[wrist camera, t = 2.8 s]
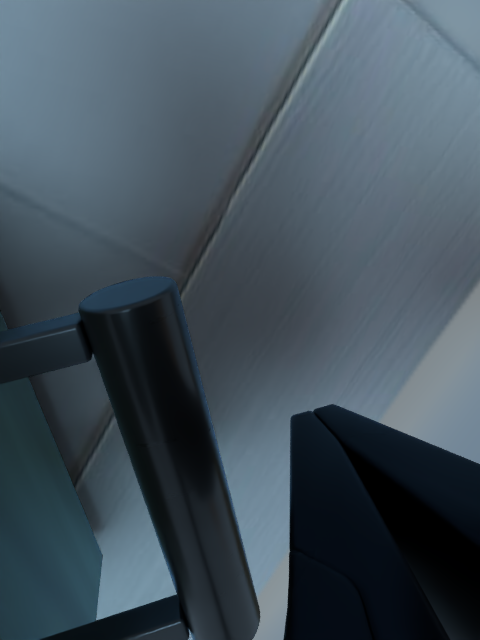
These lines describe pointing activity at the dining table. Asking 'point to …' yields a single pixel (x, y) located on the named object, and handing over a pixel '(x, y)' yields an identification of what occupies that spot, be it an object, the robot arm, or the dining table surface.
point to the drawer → (149, 466)
